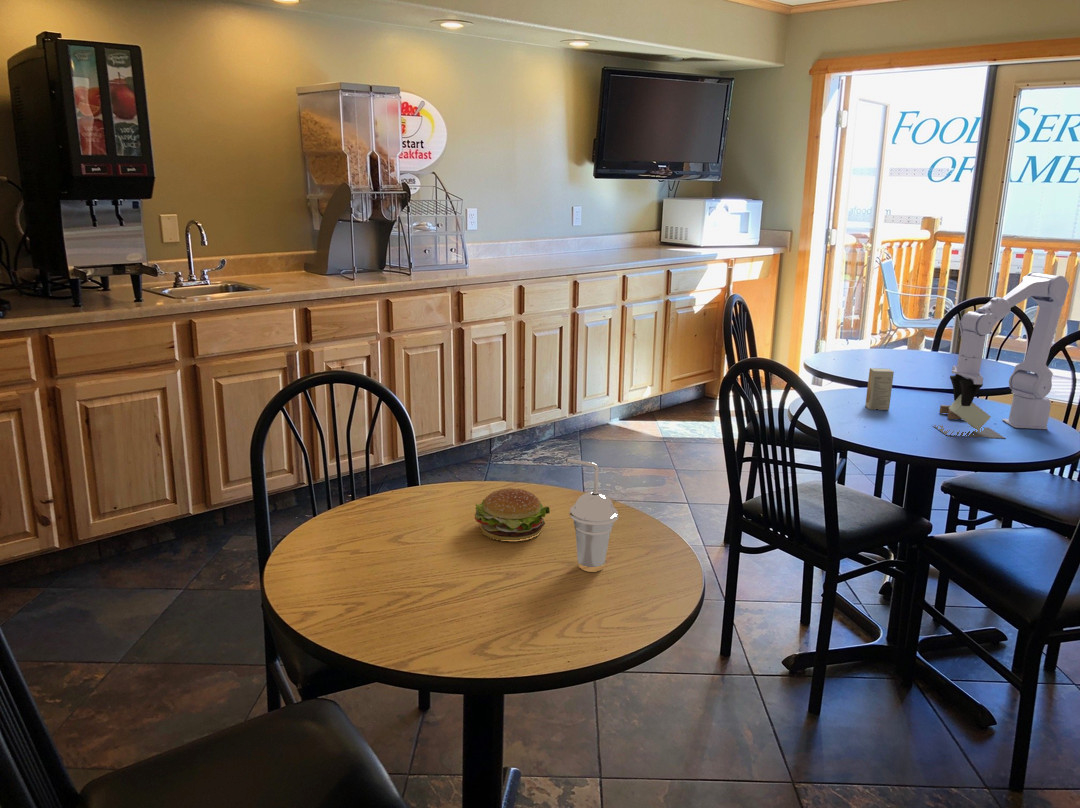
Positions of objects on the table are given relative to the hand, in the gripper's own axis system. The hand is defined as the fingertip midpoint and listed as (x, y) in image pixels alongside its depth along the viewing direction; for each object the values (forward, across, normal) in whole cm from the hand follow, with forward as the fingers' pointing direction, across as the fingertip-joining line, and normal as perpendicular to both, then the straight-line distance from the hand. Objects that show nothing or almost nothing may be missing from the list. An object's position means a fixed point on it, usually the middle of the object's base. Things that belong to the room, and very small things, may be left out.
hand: (962, 403), depth 234 cm
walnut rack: (+8, -16, +6) cm, 19 cm away
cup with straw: (+8, +96, -105) cm, 143 cm away
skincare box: (+8, -22, -15) cm, 28 cm away
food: (+9, +83, -120) cm, 146 cm away
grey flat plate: (+8, 0, +3) cm, 9 cm away
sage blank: (+5, 0, +1) cm, 5 cm away
